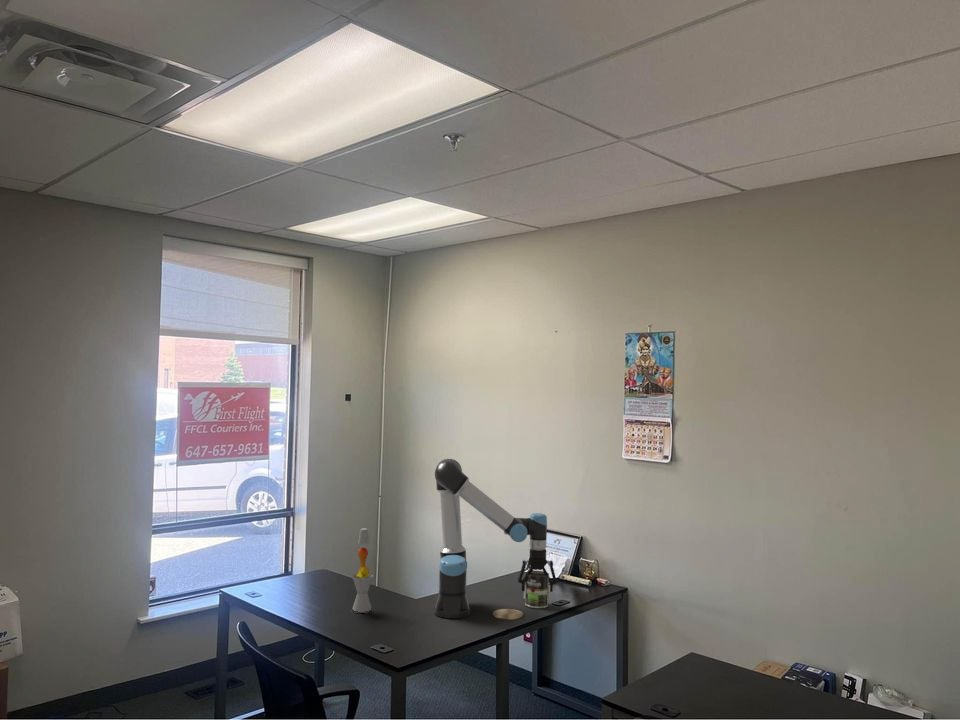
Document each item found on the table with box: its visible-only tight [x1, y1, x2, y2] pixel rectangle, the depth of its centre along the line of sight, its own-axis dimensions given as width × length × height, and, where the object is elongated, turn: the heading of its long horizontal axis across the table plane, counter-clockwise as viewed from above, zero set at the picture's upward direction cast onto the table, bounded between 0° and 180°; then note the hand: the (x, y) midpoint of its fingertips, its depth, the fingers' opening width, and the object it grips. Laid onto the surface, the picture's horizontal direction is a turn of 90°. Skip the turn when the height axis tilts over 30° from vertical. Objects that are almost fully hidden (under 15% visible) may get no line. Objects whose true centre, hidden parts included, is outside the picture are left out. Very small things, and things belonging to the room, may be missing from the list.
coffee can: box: [524, 570, 550, 609], centre depth 314 cm, size 10×10×14 cm
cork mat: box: [492, 608, 524, 621], centre depth 299 cm, size 13×13×1 cm
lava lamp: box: [351, 527, 374, 612], centre depth 302 cm, size 9×9×35 cm
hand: (536, 598), depth 314 cm, fingers closed on coffee can, 10 cm apart
